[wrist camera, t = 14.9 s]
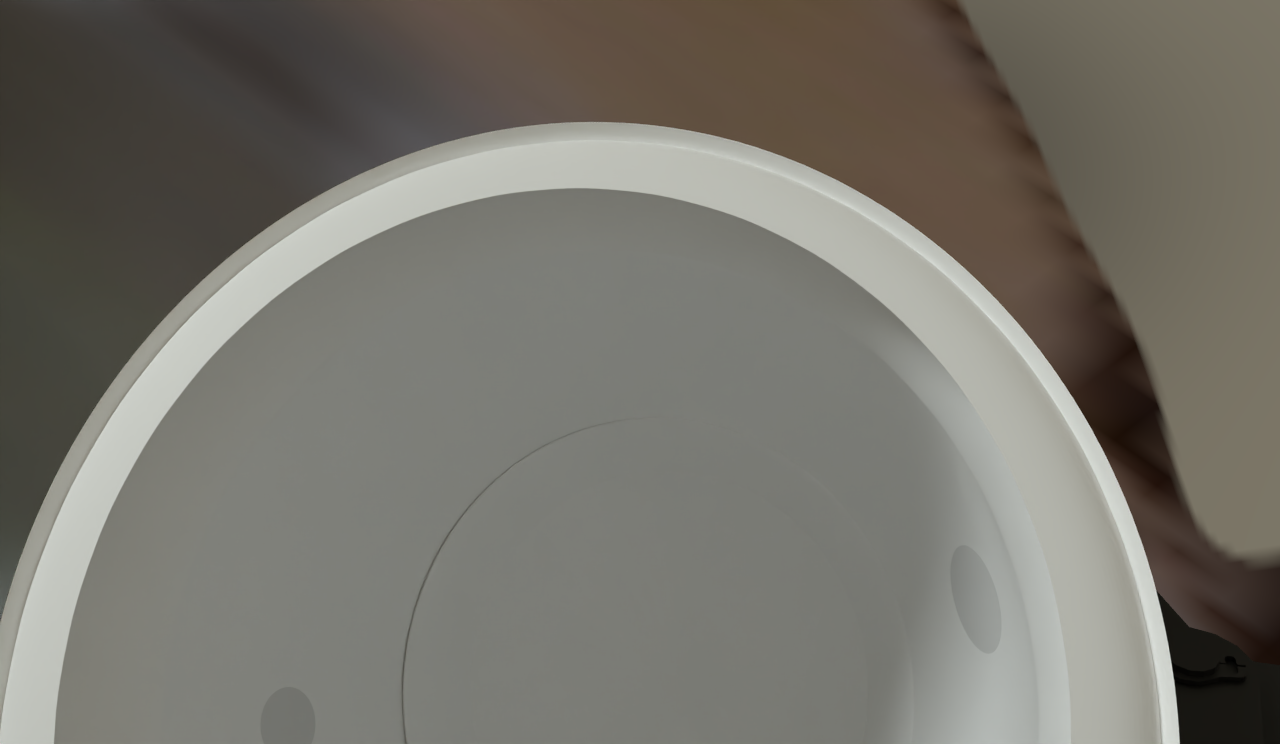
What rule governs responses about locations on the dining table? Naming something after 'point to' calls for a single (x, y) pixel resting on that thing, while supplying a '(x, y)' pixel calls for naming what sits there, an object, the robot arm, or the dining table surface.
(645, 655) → the jar
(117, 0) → the dining table surface
